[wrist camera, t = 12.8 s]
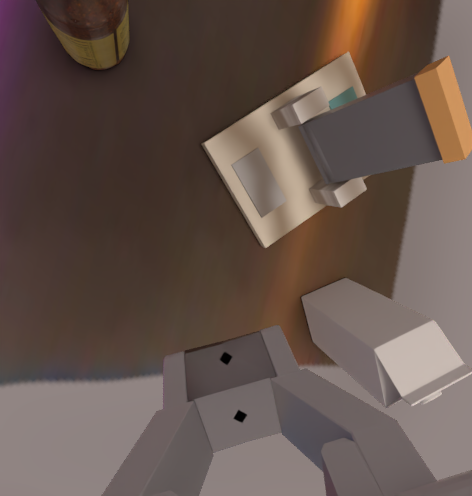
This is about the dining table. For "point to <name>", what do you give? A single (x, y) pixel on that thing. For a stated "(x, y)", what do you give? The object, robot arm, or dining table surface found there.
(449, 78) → the rocker lever
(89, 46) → the sauce bottle
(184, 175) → the dining table surface
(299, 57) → the dining table surface
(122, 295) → the dining table surface
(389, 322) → the milk carton
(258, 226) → the switch base
